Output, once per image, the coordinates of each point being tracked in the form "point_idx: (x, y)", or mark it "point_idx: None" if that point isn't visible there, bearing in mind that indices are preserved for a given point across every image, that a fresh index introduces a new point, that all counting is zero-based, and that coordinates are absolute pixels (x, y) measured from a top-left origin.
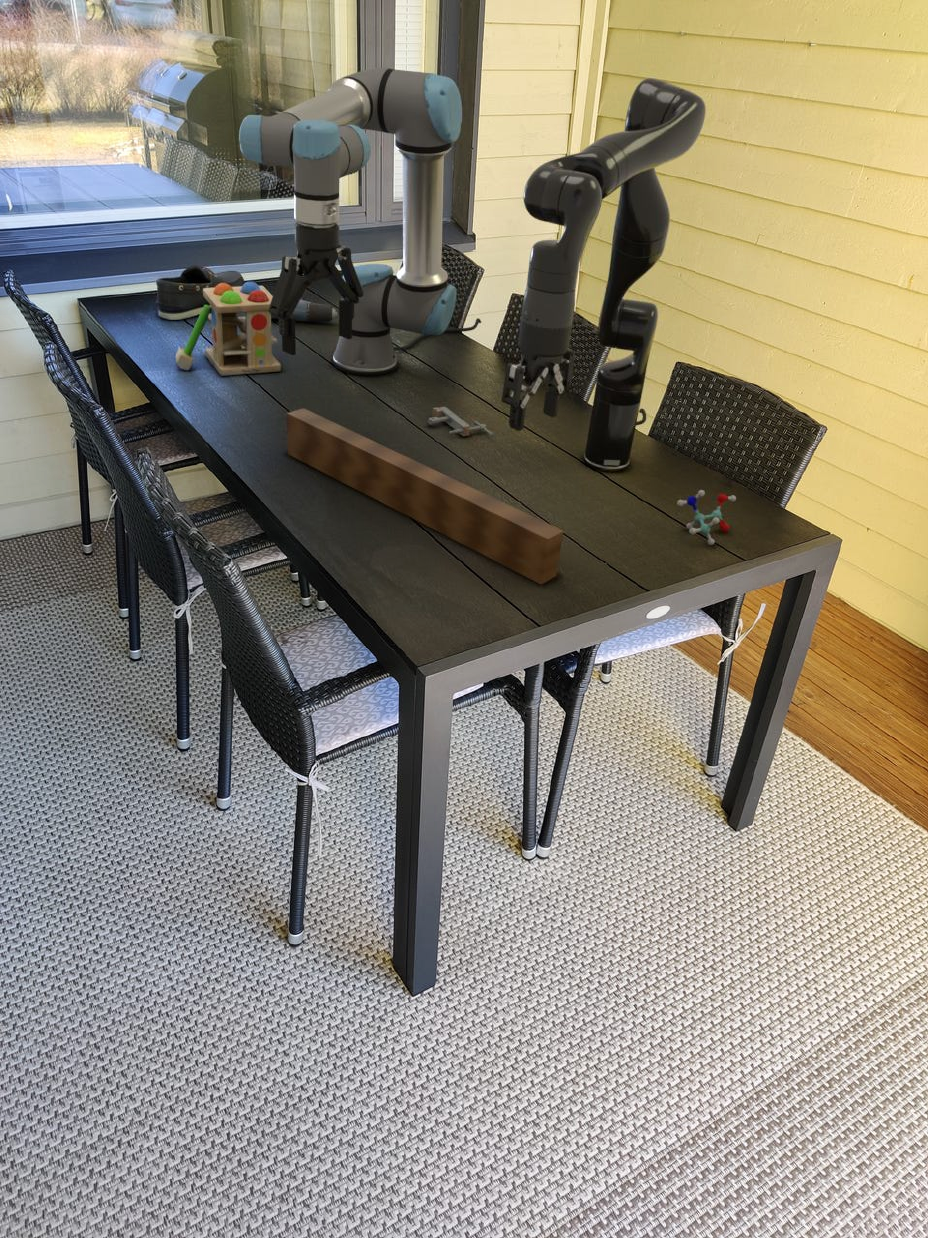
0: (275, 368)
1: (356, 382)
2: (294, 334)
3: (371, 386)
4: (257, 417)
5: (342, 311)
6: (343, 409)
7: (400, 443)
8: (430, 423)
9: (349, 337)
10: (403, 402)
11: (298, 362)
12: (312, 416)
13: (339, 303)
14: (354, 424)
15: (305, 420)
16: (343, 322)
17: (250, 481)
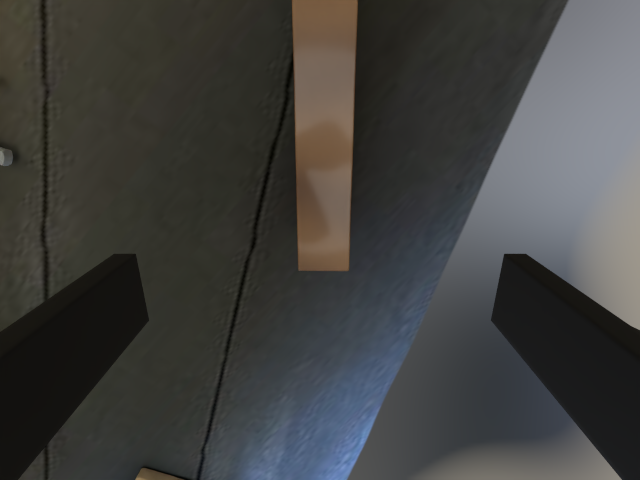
0: (148, 474)
1: None
2: (583, 309)
3: None
4: (284, 369)
5: (51, 397)
6: None
7: (124, 135)
8: (11, 154)
9: (126, 257)
10: (7, 273)
11: (95, 476)
12: (314, 222)
13: (18, 473)
14: (155, 257)
15: (344, 215)
16: (98, 337)
17: (470, 194)
